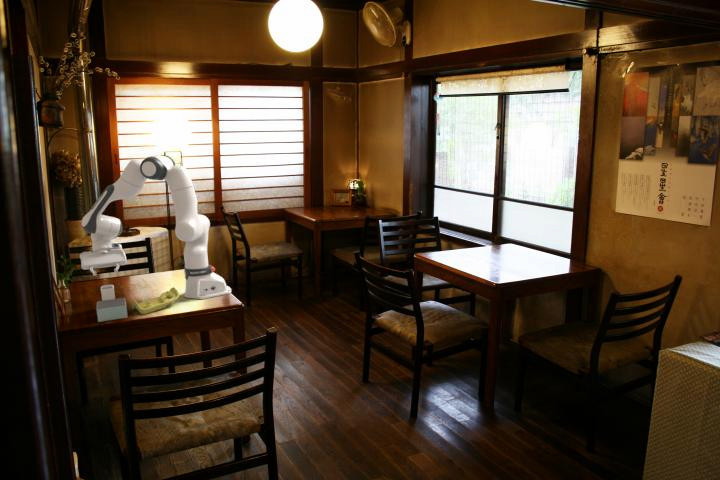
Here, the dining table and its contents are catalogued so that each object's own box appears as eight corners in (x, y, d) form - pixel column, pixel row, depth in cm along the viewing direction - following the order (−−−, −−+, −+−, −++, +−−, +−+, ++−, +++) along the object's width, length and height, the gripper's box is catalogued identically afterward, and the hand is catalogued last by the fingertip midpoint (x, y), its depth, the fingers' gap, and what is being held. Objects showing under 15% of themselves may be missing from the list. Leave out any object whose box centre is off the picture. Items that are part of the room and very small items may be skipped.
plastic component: (141, 310, 264) (131, 297, 270) (141, 322, 268) (131, 309, 274) (182, 297, 277) (172, 285, 282) (182, 309, 281) (171, 296, 286)
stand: (126, 309, 273) (125, 297, 272) (127, 317, 263) (126, 304, 261) (98, 314, 269) (96, 301, 268) (98, 321, 258) (96, 308, 257)
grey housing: (116, 305, 281) (113, 283, 279) (116, 308, 276) (113, 286, 273) (103, 307, 279) (100, 285, 277) (103, 310, 274) (100, 288, 271)
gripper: (78, 248, 284) (81, 273, 277) (124, 243, 292) (127, 267, 285) (79, 256, 289) (82, 280, 282) (124, 250, 297) (128, 274, 290)
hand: (105, 273), depth 284 cm, fingers open, 8 cm apart
